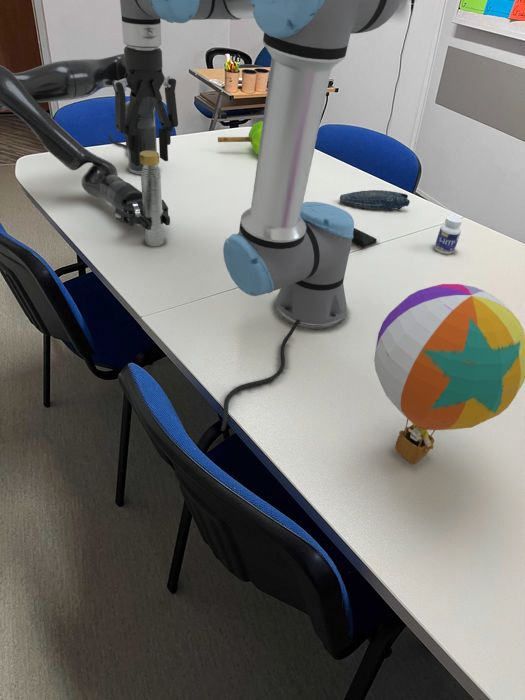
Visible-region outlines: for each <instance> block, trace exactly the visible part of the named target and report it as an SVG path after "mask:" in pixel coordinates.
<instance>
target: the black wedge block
mask: <svg viewBox="0 0 525 700" xmlns="http://www.w3.org/2000/svg"><path fill="white" fill-rule="evenodd" d="M377 240H378V238H376V237H374V236H372V235H370V234H368V233H366V232H364V231H362V230H359V229H358V228H355V227H354V230H353V239H352V242H351V244H354V245H356V246H359V247H360V248H363V249H364V248H366V247H368V246H371V245H373V244H375V243H377Z"/></svg>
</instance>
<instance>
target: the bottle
mask: <svg viewBox="0 0 525 700" xmlns="http://www.w3.org/2000/svg"><path fill="white" fill-rule="evenodd" d="M161 177H162V176H161V173H160V171H159V166H158V167H157V165H153V166H147V165H144V167H143V169H142V172H141V175H140V183H141V192H142V199H143V213H144V217H145V218H146V219H147V220H149V221H150V223H151V230H147V229H144V237H145V244H146V245H147V246H150V247H160V246H163V245H164V243H165V239H164V238H165V237H164V223H163V214H162V200H163V198H162V197H163V196H162V195H163V194H162V178H161Z"/></svg>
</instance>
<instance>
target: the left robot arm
mask: <svg viewBox="0 0 525 700" xmlns="http://www.w3.org/2000/svg"><path fill="white" fill-rule="evenodd" d="M125 74H126V67H125V56H124V53H120V54H116V55H112V56H108V57H104V58H87V59H86V58H82V59H67V60H58V61H53V62H49V63H45V64H43V65H39V66H37V67H33V68H32V69H31V68H30V69H28V70H25V71H20V72H12V71H11V70H9V69H8V68H6V67H5V66H3V65H1V64H0V112H5V111H7V110H9V111H10V112H12V113H13V114H14V115H16V116H17V117H18V118H20V119H21V120H22V121H23V122H24V123H25V124H26V125H27V126H28V127H29V128H30V129H31V131H32V132H33V133H34V134H35V136H36V138H37V139H38V140H39V142H40V143H41V144H42V146H43V147H44V148H45V150H47V151H48V153H50V154H51V155H52V156H53V158H56V160H58V161H59V162H60V163H62V164H63V165H64V166H65V167H66V168H67V169H69V170H71V171H78V170H79V169H80V168H81V167H83V166H84V165H86V164H92V165H90V167H89V168H88V170H87V171H86V172H85V174H84V175H83V176H82V177H81V181H80V183H81V187H82V189H83V190H84V191H85V192H86V193H87V194H89V195H90V196H91V197H95V198H97V199H104V200H106V201H107V202H108V203H109V204H110V205H111V206H112V207H113V208H114V215H115V220H117V221H118V222H120V223H123V224H125V225H127V226H130V227H134V226H135V225H137V226H140V227H141V228H143V229H144V230H145V229H147V230H151V223H150V221H149V220H147V219H146V218H145V217H144V213H143V199H142V190H140V189H138V188H136V186H134V185H132V184H131V183H129V182H127V181H125V180H124V179H122V178H121V177H120V176H119V173H118V169H117V167H116V166H115V165H114V164H113V163H112V162H110V161H108V160H106V159H104V158H102V157H100V156H98V155H96V154H94V153H93V152H91V151H89V150H88V149H87V148H86V147H85V146H83V145H82V144H81V143H80V142H79V141H77V140H76V139H75V138H74V137H73V136H71V135H70V134H69V133H68V132H67V131H66V129H64V128H63V127H62V126H60V124H59V123H58V122H57V121H56V120H54V119H53V117H52V116H51V115H50V114H49V113H48V112H47V111H46V110H45V109H44V108H43V106H42V105H41V104H40V103H51V102H60V101H61V102H62V101H70V100H78V99H84V98H87V97H90V96H92V95H93V94H95V93H97V92H98V91H100V90H101V89H104V88H110V87H111V88H113V85H112V82H113V80H116V81H119V80H121V79H124V77H125ZM126 88H128V89H130V88H129V86H128V85H127V86H126ZM129 102H130V100H128V101H125V105H126V116H127V112H128V107H129ZM134 134H136V135H137V139H138V153H139V166H136V165H135V164H133V163H132V162H131V154H130V150H129V149H128V148H127V147H126V144H124V143H120V142H117V141H115V140H113V138H112V134H109V135H108V138H109V141H110V142H111V143H112V144H114V145H117V146H120V147H124V148H125V149H126V150H127V151H126V152H127V161H128V171H129V172H130V173H132V174H134V175H140V176H141V172H142V169H143V167H144V165H143V164H141V162H140V152H142V151H156V152H158V146H157V127H156V109H155V106H154V104H153V101H152V99H151V97H146V98H143V99H142V102H141V103H140V107H139V111H138V116H137V120H136V125H135V129H134ZM157 167H158V168H159V164H157ZM162 214H163V225H165V226H166V227H167V226H170V223H171V216H170V215H169V207H168V205H167V203H166V201H165V200H164V199H162Z"/></svg>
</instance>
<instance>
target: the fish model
mask: <svg viewBox="0 0 525 700" xmlns="http://www.w3.org/2000/svg"><path fill="white" fill-rule="evenodd" d="M410 202H411V201H410V200H409V195H408V194H406V193H403V192H402V193H401V192H399V191H392V190H382V189H380V190H379V189H377V190H376V189H368V190H360V191H352V192H348V193H344V194H341V195H340V196H339V203H343V204H346V205H349V206H351V207H357V208H362V209H371V210H372V209H374V210H384V211H385V210H386V211H391V210H394V209H397V210H402V208H404V207H408V206H409V205H410Z"/></svg>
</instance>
